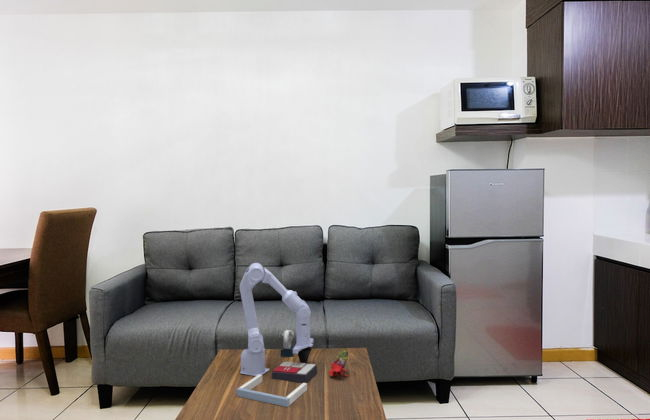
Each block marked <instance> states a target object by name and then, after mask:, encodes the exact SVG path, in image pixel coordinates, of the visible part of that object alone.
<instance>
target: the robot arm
mask: <svg viewBox="0 0 650 420" xmlns="http://www.w3.org/2000/svg"><path fill="white" fill-rule="evenodd" d="M244 271H245V272H244V274H243V276H242V279H241V281H240V284H239V292H240V298H241V303H242V307H243V313H244V318H245V323H246V329H247V336H248V337H247V343H248V344H247V348H245V349H243V350H242V352H241V354H240V372H239V374H241V375H243V374H244V375H246V376H252V377H256V376H257V375H259V374H260V375H262V376H263V375H264V374H266V373H267V372H269V371H270V368H267V367H266V348H265V342H264V335H263V334H262V332H261V330H260V326H259V322H258V318H257V317H258V316H257V312H256V307H255V302H254V296H253V289H254V287H255V286H256V284H258V283H259V282H261V283H263V284H269V286H271V288H273V289H274V290H275V291H276V292H277V293H278V294H280V295H281V301H282V302H283V303H284V304H285V305H286V306H287V307H288V308H289V309H290V310H291V311H292V312H295V314H296V315H295V316H296V323H295V327H296V328H295V331H296V333H295V335H296V336H295V337H296V343H295V345H294V346H293V347H294V348H293V353H294V355H297V358H298V360H299V363H306V364H308V362H309V357H310V355H311V354H310V353H311V351H312V350H313V346H314V338H312V337H311V314H312V312H311V309H310V307H309V304H308V303H307V302H306V301H305V300H304V299H301V298H300V296H298V293H297V291H296V290H295V291H293V290H291V289H287V288H286V287H285V286H284V285H283V284H282V282H280V281H279V279H278V278H277V277H276V276H275V275H274V274H273V273H272V272H271V271H269V269H267V267H263V265H262V264H261V263H259V262H254V263H251V264H250V265H249V266H248V267H247V268H246V270H244Z"/></svg>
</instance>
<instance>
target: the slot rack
mask: <svg viewBox="0 0 650 420" xmlns="http://www.w3.org/2000/svg"><path fill="white" fill-rule="evenodd" d="M262 382H263V375H260V374H259V375H257V376H253V378H251V379H250V380H248V381H246V382H245V383H244V384H242V385H240V386H239V387H238V388H237V389H236V396H237V397H240V398H244V399H249V400H252V401H253V400H254V401H257V402H263V403H268V404H272V405H276V406H277V405H278V406H282V407H285V408H288V407H290V405H291V404H293V403H294V402H295V401H296V400H298V398H300V397H301V396H302V395H303V394H305V393H306V391H308V383H300V385H299V386H298V387H297V388H295V389H294V390H292V391H291V392H290V393H289V394H287V396H281V395H277V394H271V393H267V392H262V391H258V390H257V391H256V390H253V389H254V388H255V387H256V386H258V385H259V384H260V383H262Z"/></svg>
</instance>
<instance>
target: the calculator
mask: <svg viewBox="0 0 650 420" xmlns="http://www.w3.org/2000/svg"><path fill="white" fill-rule="evenodd" d="M316 375H318V365H317V364H315V363H307V364H306V363H300V362H293V361H283V362H282V363H280V364H279V365H278V366H276V368H274V369H273V370H272V371H271V379H273V380H278V381H279V380H280V381H284V382H285V381H286V382H294V383H295V382H296V383H297V384H302V383H307V384H309V382H310V381H311V380H312V379H313V378H315V376H316Z"/></svg>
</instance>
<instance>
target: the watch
mask: <svg viewBox="0 0 650 420" xmlns="http://www.w3.org/2000/svg"><path fill="white" fill-rule="evenodd" d="M281 336H283V341H282V343H283V346H281V348H280V357H281V358H282V357H283V358H294V356H295V354H294V353H293V348H294V347H295V346H292V341H293V338H294V336H295V333H294V332H293V330H290V329H285V330H283V333H282V334H281Z"/></svg>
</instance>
